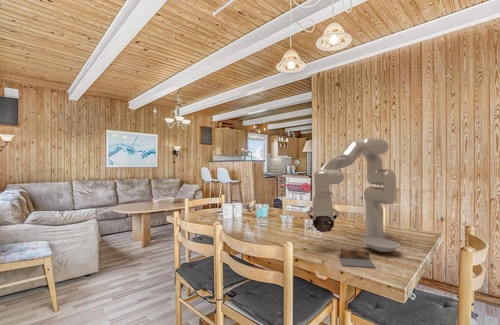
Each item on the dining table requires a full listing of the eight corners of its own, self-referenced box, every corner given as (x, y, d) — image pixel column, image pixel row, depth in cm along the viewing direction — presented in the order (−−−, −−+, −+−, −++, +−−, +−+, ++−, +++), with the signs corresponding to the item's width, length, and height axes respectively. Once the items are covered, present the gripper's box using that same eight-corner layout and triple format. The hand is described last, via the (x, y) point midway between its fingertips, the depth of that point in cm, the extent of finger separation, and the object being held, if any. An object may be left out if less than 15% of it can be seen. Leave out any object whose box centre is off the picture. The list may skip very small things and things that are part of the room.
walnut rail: (368, 258, 121) (368, 250, 121) (369, 259, 120) (369, 251, 120) (340, 256, 124) (340, 248, 124) (340, 257, 123) (340, 249, 123)
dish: (401, 251, 133) (401, 241, 133) (399, 260, 121) (399, 249, 121) (365, 244, 143) (365, 236, 142) (360, 252, 131) (360, 243, 131)
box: (321, 232, 129) (320, 218, 129) (315, 229, 135) (314, 216, 135) (331, 231, 131) (331, 217, 131) (325, 228, 137) (324, 214, 137)
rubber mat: (367, 256, 125) (367, 255, 125) (375, 268, 112) (375, 267, 112) (338, 254, 128) (338, 253, 128) (342, 266, 115) (342, 264, 115)
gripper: (338, 193, 134) (339, 225, 135) (305, 193, 138) (306, 225, 138) (340, 195, 127) (341, 229, 128) (305, 195, 131) (306, 229, 131)
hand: (323, 227), depth 133 cm, fingers closed on box, 8 cm apart
